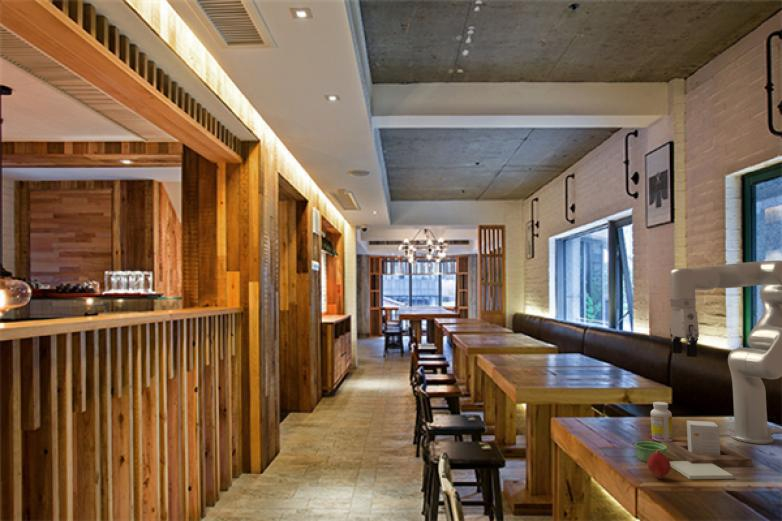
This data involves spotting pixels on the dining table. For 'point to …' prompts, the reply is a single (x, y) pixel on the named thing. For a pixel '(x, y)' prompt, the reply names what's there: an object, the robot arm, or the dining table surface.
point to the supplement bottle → (661, 422)
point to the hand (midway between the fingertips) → (684, 354)
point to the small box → (703, 438)
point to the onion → (658, 464)
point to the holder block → (724, 459)
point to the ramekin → (648, 449)
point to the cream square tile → (700, 470)
